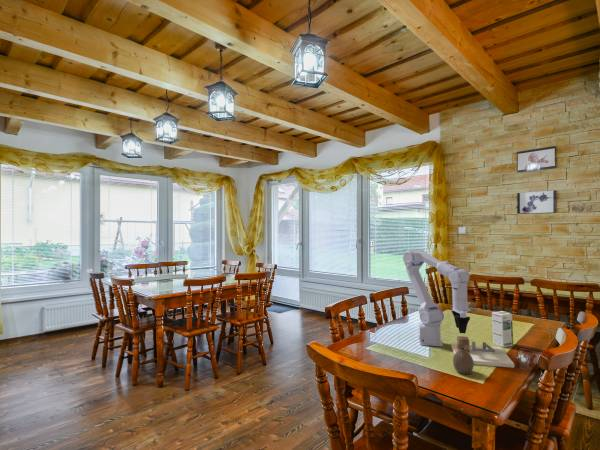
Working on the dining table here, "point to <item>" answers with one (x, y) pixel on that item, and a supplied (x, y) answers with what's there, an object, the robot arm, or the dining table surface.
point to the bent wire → (483, 348)
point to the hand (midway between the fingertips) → (460, 330)
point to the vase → (463, 361)
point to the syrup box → (502, 328)
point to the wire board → (488, 357)
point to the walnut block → (463, 342)
